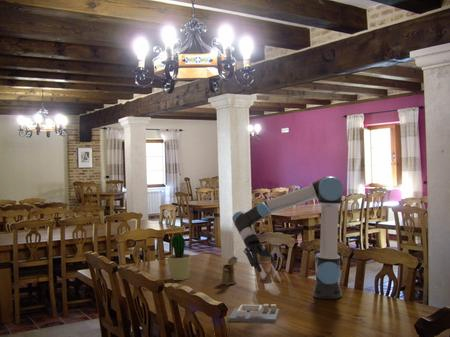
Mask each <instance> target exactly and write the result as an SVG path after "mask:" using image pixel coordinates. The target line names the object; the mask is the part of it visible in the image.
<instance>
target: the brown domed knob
mask: <svg viewBox="0 0 450 337" xmlns="http://www.w3.org/2000/svg"><path fill="white" fill-rule="evenodd" d="M258 262H259V264H261V266H262V268H263V270H264V272H265V273H266V277H265V278H264V279H263V278H262V276H261V274H260V273H259V278H258V283H259V284H262V285H263V284H272V283H273V278H272V273H271V257H268V256H263V257H261V256H259V259H258Z"/></svg>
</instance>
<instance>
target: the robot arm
mask: <svg viewBox="0 0 450 337" xmlns="http://www.w3.org/2000/svg"><path fill="white" fill-rule="evenodd" d="M343 193H344V185H343V183H342V181H341V180H340V179H339V178H338V177H336V176H333V175H326V176H324V177H321V178H320V179H317V180H316V181H313V182H311V183H310V185H308V186H305V187H302V188H299V189H296V190H292V191H291V192H287V193H285V194H282V195H279V196H276V197H273V198H270V199H268V200H266V201H262V202H258V203H255V205H254V206H252V208H250V209H249V210H248V211H246V212H245V211H243V210H238V211H237V212H235V213H234V214H233V216H232V222H233V225H234V226H235V228H236V230H237V232H238V234H239V235H240V238H241V240H242V241H243V244H244V245H245V247H244V249H243V253H244V254H245V256H246V257H247V259H248V262H249V264H250V266H251V267H254V269H256V270H257V272H258V273H259V275H260V274H261V276H262V278H263V279H264V278H265V277H266V273H265V272H264V270H263V268H262V266H261V264H260V263H259V262H260V261H259V259H258V255H259V257H263V256H268V257H271V276H272V277H276V276H277V274H278V272H277V271H276V267H275V265H274V263H275V261H276V260H275V259H274V258H275V257H274V256H273V255H272V253H271V251H270V250H269V248H268V245H267V244H265V245H263V244H261V242H260V239H259V238H260V237H259V236H258V235H257V233H256V231H255V229H254V227H253V225H255V224H256V223H258V222H259V221H261V220H263V219H265V218H266V217H267V216H270V215H271V214H275V213H278V212H281V211H283V210H287V209H290V208H292V207H295V206H298V205H301V204H303V203H306V202H310V201H312V200H318V204H319V205H320V206H321V208H320V209H321V212H320V238H319V239H320V241H319V242H320V243H319V244H320V245H319V246H320V248H319V252H317V253H315V254H314V264H315V265H314V266H315V267H314V268H315V270H314V271H315V283H314V287H313V290H312V295H313V297H315V299H319V300H320V299H321V300H336V299H340V298H341V297H342V296H343V295H342V294H343V292H342V289H341V286H340V283H339V280H340V279H341V275H342V271H341V256H340V255H339V254H338V244H339V243H338V237H339V207H340V205H342V202H343Z"/></svg>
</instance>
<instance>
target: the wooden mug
mask: <svg viewBox="0 0 450 337" xmlns="http://www.w3.org/2000/svg"><path fill="white" fill-rule="evenodd" d="M237 262H238V258H237V256H232V257H231V258H229V259H228V261H227V264H223V265H222V276H221V283H222V284H226V285H225V286H231V285H230V284H234V285H236V284H237V279H236V275H235V268H234V266H235V265H236V264H237ZM221 283H220V284H221ZM235 283H236V284H235ZM222 284H221V285H222Z"/></svg>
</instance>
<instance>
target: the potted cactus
mask: <svg viewBox="0 0 450 337" xmlns="http://www.w3.org/2000/svg"><path fill="white" fill-rule="evenodd" d="M170 244H171V245H170V246H171V248H172V249H173V252H174V253H173V254H170V255H167V256H166V258H167V264H168V268H169V273H170V274H169V275H170V279H171V278H172V279H176V280H182V281H184V280H183V279H187V278H189V277H190V270H191V269H190V268H191V257H192V255H191V254H189V253H185V249H186V248H187V247H186V240H185V237H184V236H183V235H182V233H181V232H180V233H175V234H173V236H172V239H171V242H170ZM172 279H171V280H172ZM187 280H188V279H187Z"/></svg>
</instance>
